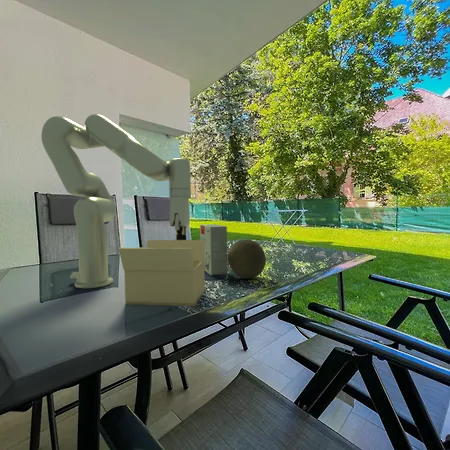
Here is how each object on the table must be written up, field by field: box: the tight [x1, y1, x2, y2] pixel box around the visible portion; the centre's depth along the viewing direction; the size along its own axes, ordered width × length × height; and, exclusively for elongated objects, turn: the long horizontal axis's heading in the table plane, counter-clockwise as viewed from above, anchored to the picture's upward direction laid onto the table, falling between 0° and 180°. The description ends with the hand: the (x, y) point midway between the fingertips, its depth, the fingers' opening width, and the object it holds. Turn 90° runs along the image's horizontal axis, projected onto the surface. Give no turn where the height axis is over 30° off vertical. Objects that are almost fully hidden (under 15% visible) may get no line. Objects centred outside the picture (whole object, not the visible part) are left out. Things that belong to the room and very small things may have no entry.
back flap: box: [146, 239, 206, 261], centre depth 90 cm, size 20×7×1 cm
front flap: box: [118, 247, 194, 271], centre depth 73 cm, size 20×7×1 cm
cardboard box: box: [124, 261, 206, 307], centre depth 82 cm, size 20×14×10 cm
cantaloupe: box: [227, 239, 267, 280], centre depth 102 cm, size 14×14×15 cm
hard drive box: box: [199, 223, 228, 276], centre depth 117 cm, size 16×8×20 cm, turn 21°
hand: (181, 245), depth 97 cm, fingers closed
